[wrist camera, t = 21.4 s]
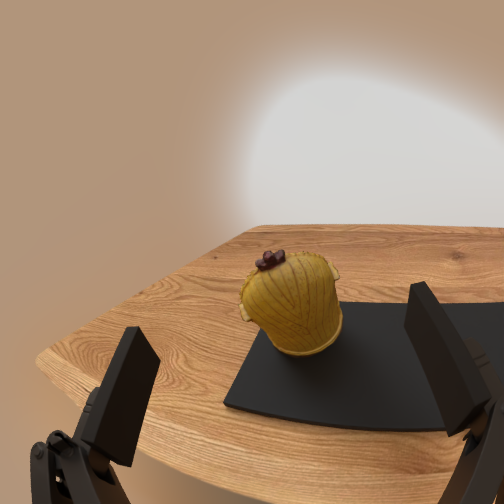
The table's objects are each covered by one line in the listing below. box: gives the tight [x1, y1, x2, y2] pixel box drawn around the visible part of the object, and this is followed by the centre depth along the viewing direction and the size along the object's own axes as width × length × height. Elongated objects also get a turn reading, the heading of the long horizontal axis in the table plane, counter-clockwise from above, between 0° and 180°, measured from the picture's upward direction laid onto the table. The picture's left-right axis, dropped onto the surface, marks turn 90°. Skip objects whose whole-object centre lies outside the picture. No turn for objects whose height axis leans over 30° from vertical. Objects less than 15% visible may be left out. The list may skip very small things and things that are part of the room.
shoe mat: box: [223, 301, 504, 432], centre depth 22 cm, size 40×16×1 cm, turn 68°
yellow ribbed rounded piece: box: [238, 250, 343, 358], centre depth 24 cm, size 12×8×15 cm
